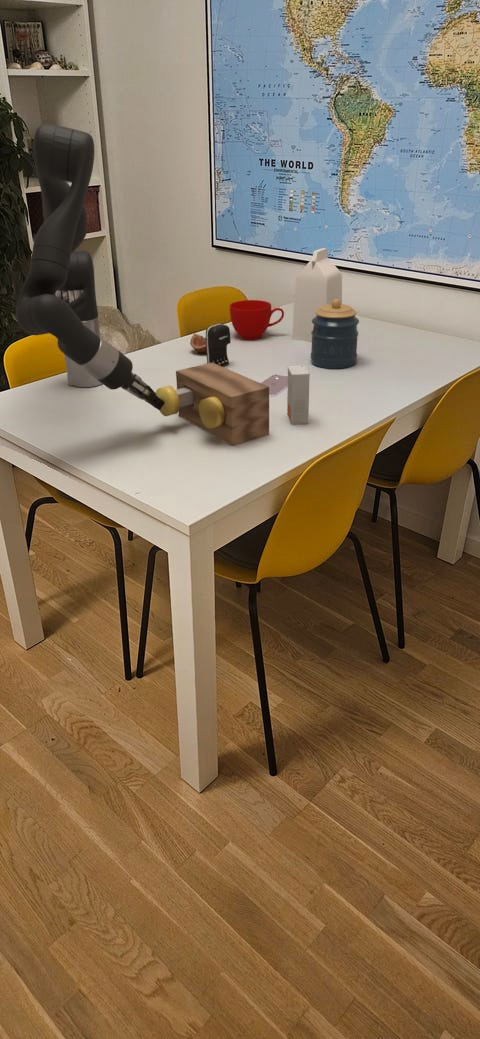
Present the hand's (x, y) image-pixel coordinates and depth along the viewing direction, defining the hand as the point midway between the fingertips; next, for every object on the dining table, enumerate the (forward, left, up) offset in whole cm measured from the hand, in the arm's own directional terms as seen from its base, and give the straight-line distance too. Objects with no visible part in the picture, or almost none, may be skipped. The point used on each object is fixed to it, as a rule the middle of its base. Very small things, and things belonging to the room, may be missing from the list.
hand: (160, 405), depth 159 cm
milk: (+37, +76, -6) cm, 85 cm away
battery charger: (+9, +46, -6) cm, 47 cm away
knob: (+6, +5, -2) cm, 8 cm away
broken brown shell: (+3, +59, -6) cm, 59 cm away
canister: (+41, +50, -6) cm, 65 cm away
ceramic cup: (+18, +76, -6) cm, 78 cm away
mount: (+12, +2, -6) cm, 14 cm away
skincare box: (+31, +7, -6) cm, 32 cm away
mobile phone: (+24, +30, -6) cm, 39 cm away
